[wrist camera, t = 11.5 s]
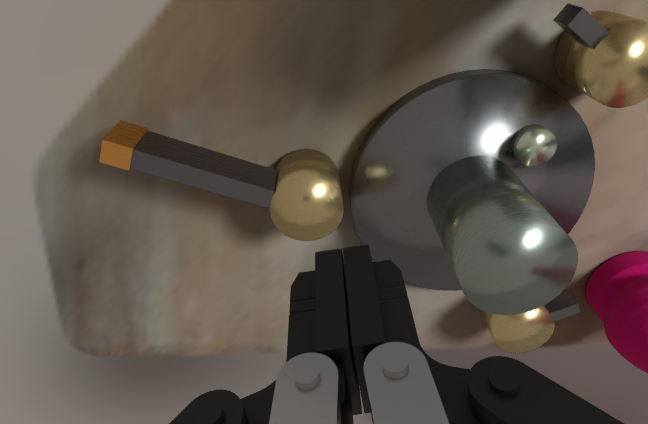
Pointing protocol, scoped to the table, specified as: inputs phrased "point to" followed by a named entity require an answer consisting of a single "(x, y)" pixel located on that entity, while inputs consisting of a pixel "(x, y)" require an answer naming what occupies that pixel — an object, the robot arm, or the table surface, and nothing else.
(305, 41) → the table surface
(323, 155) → the brass head mallet
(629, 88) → the base
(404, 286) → the robot arm
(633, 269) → the pepper mill
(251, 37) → the table surface
